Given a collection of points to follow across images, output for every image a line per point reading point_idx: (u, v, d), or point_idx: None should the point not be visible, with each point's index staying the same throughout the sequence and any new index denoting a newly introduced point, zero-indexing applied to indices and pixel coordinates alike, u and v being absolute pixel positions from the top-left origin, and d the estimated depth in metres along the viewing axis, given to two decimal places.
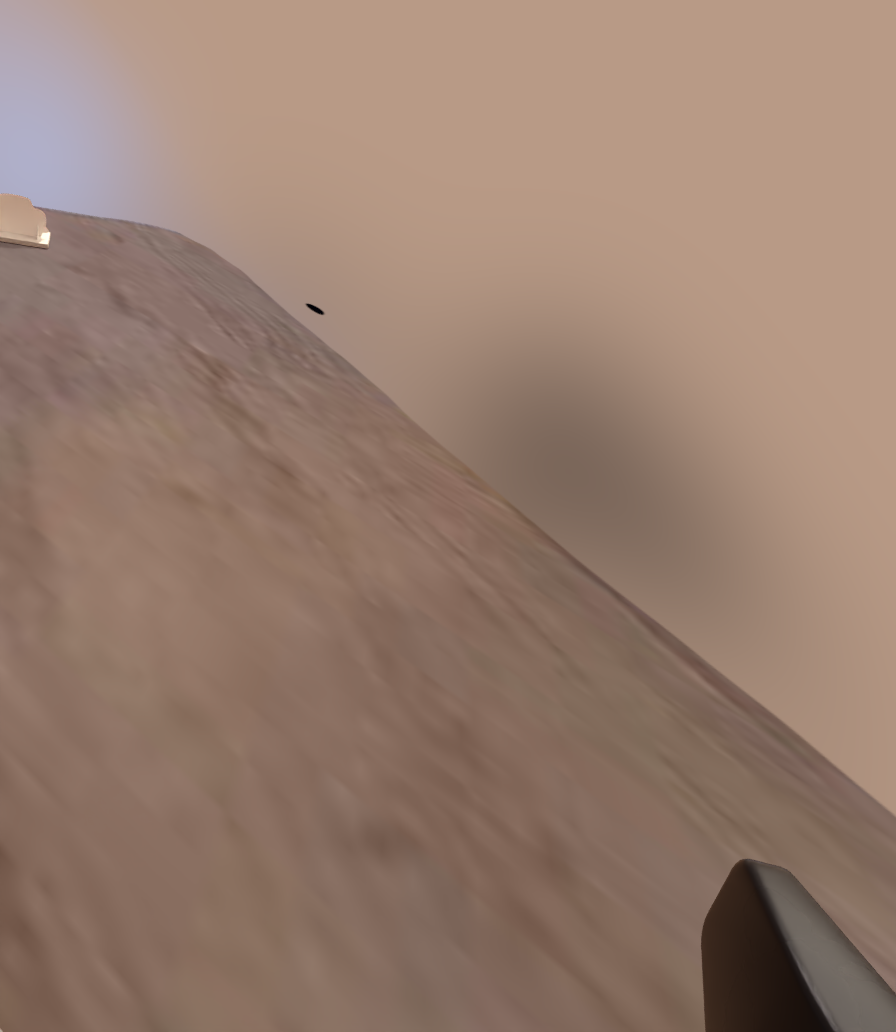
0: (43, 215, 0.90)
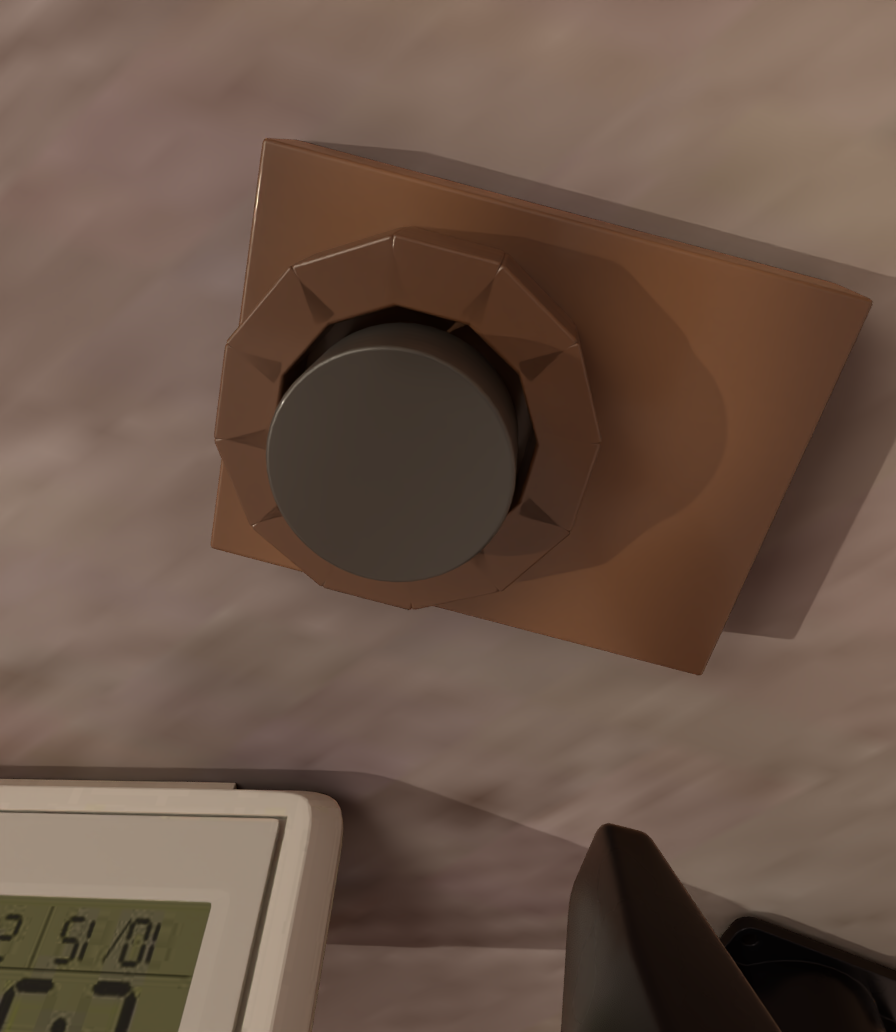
0: None
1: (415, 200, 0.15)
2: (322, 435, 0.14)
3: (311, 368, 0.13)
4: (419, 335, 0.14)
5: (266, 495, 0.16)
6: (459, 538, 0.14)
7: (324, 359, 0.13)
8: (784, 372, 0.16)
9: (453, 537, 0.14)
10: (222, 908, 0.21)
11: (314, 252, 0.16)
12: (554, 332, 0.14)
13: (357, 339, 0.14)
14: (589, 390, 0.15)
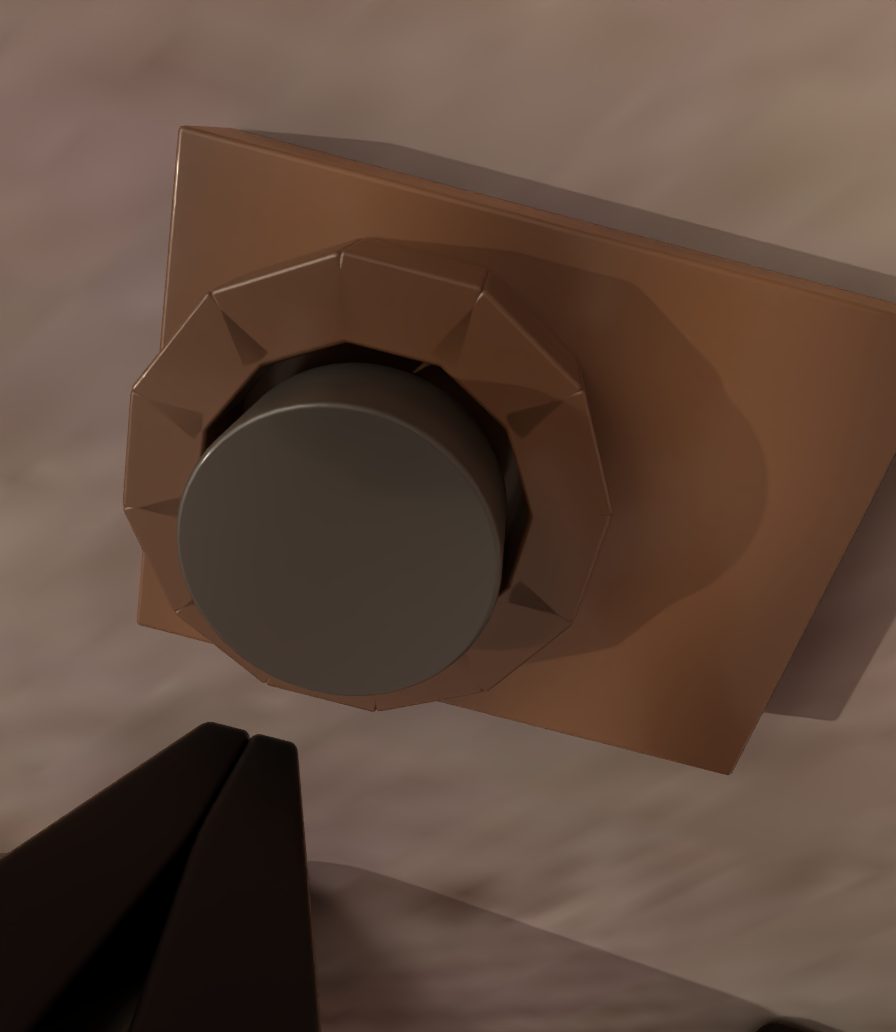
0: None
1: (374, 204, 0.12)
2: (249, 516, 0.11)
3: (229, 430, 0.10)
4: (375, 383, 0.11)
5: None
6: (430, 644, 0.11)
7: (246, 418, 0.10)
8: (842, 420, 0.13)
9: (422, 643, 0.11)
10: None
11: (248, 270, 0.13)
12: (552, 376, 0.11)
13: (294, 389, 0.11)
14: (597, 449, 0.12)
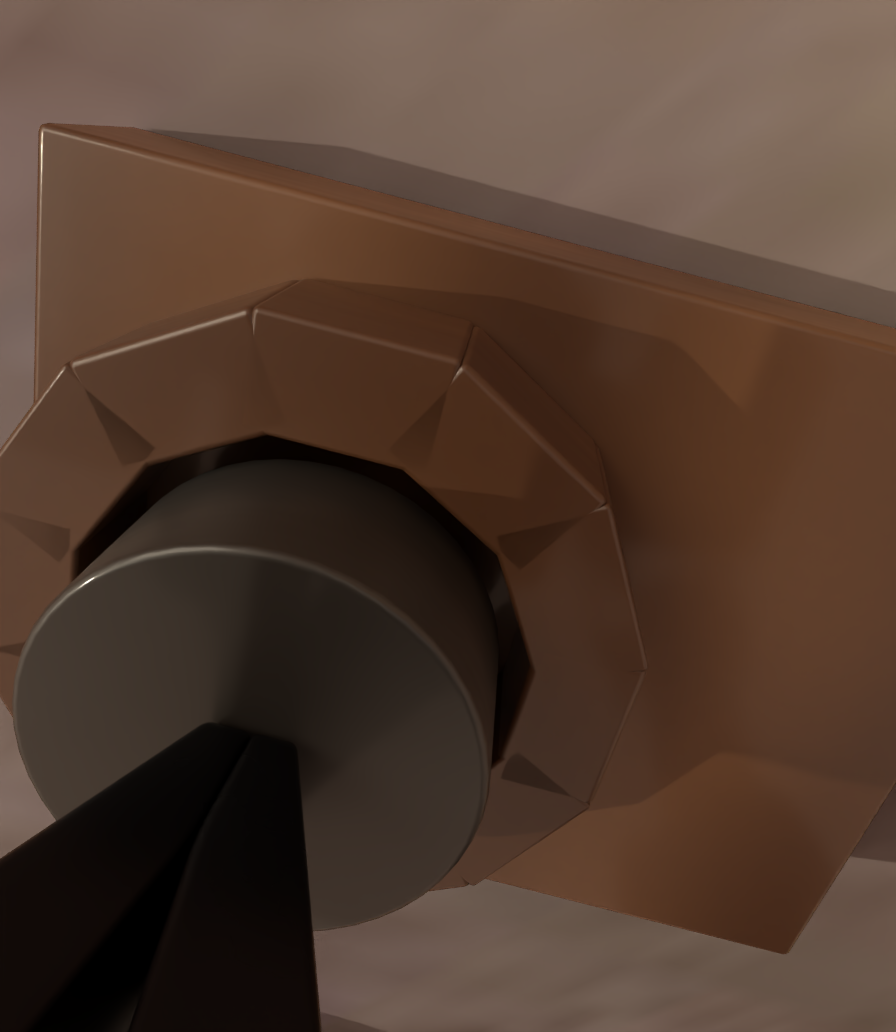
0: None
1: (315, 233, 0.09)
2: (114, 700, 0.07)
3: (77, 583, 0.07)
4: (304, 500, 0.07)
5: None
6: (386, 872, 0.08)
7: (102, 565, 0.07)
8: None
9: (374, 871, 0.08)
10: None
11: (145, 322, 0.09)
12: (563, 486, 0.08)
13: (184, 509, 0.07)
14: (627, 585, 0.08)
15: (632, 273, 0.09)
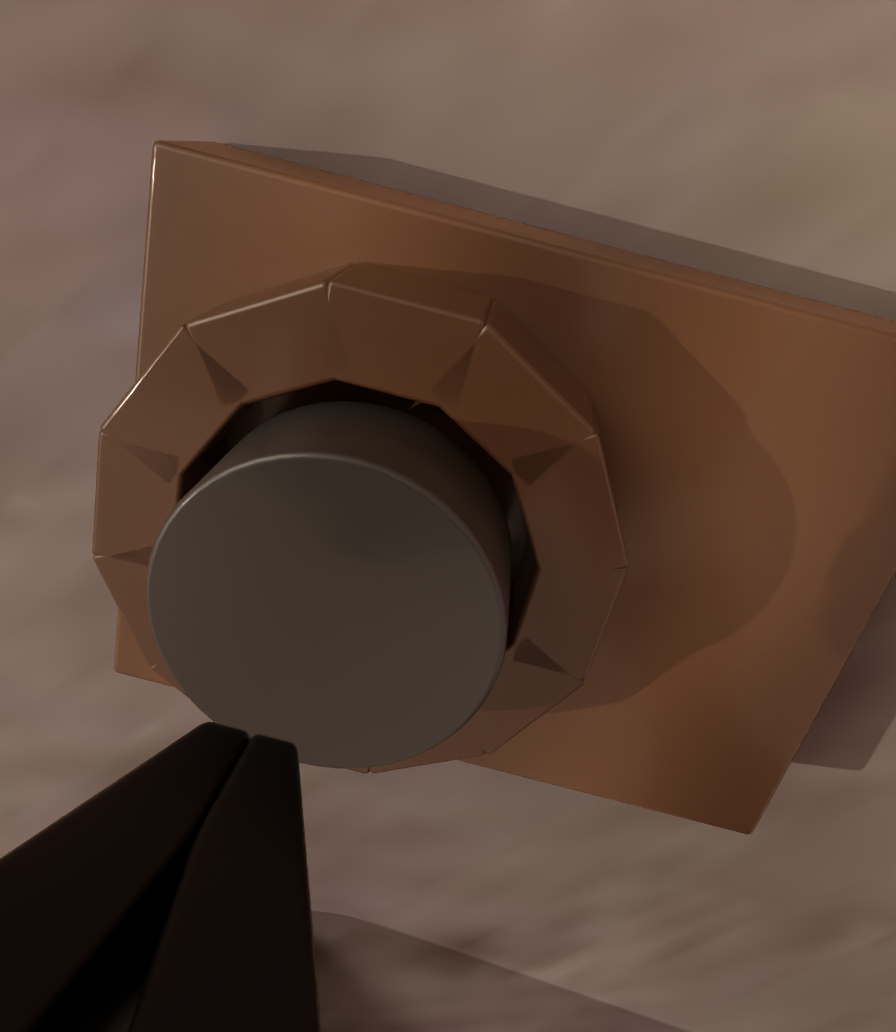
0: None
1: (368, 226, 0.11)
2: (224, 575, 0.09)
3: (203, 483, 0.09)
4: (366, 427, 0.10)
5: None
6: (427, 714, 0.10)
7: (222, 469, 0.09)
8: (877, 461, 0.12)
9: (418, 713, 0.10)
10: None
11: (230, 297, 0.12)
12: (562, 418, 0.10)
13: (276, 433, 0.10)
14: (612, 498, 0.10)
15: (617, 258, 0.11)
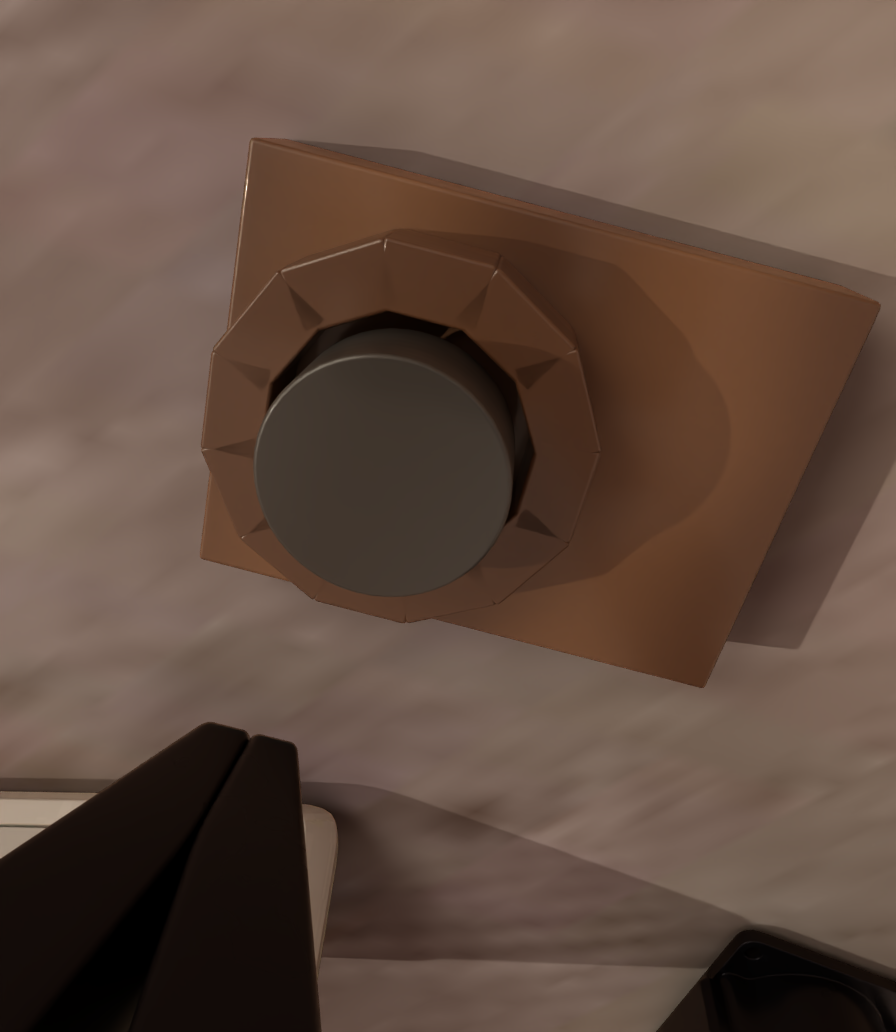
0: None
1: (408, 201, 0.15)
2: (312, 446, 0.13)
3: (299, 377, 0.13)
4: (412, 342, 0.14)
5: (255, 506, 0.16)
6: (454, 552, 0.14)
7: (313, 367, 0.13)
8: (789, 378, 0.16)
9: (448, 551, 0.14)
10: None
11: (304, 255, 0.15)
12: (552, 338, 0.14)
13: (347, 346, 0.13)
14: (588, 398, 0.14)
15: (593, 225, 0.15)
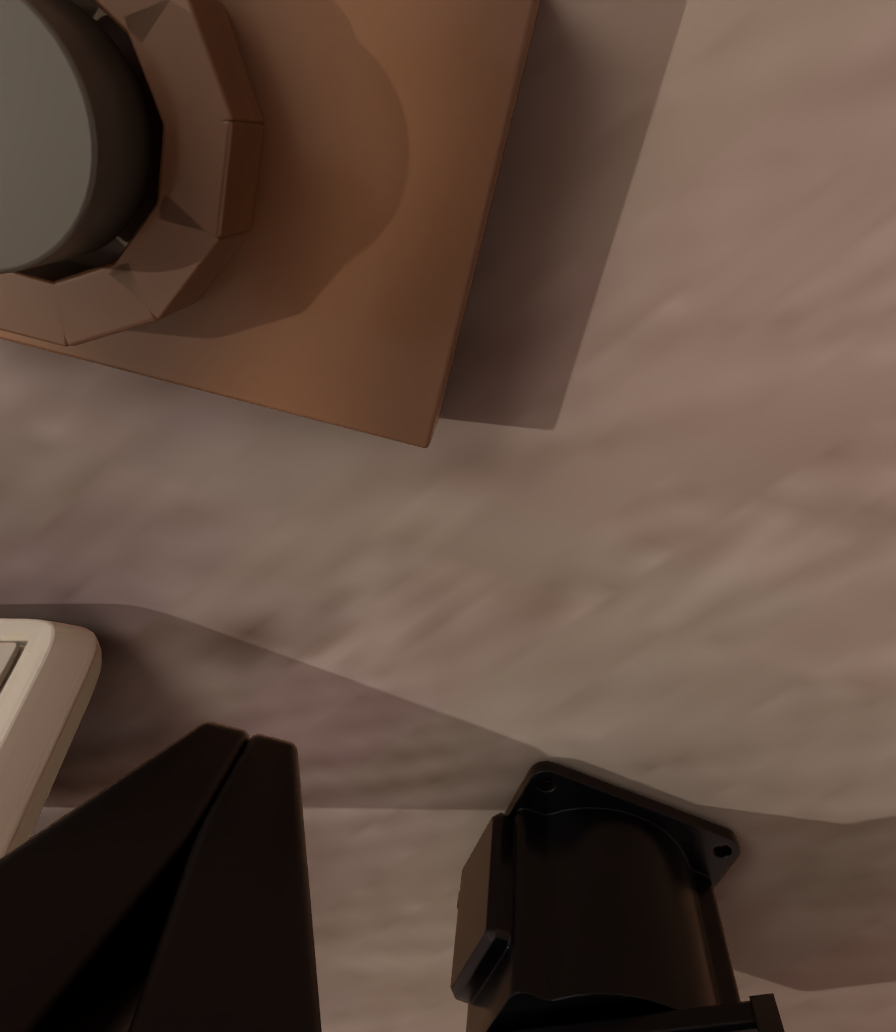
0: None
1: None
2: None
3: None
4: None
5: None
6: (49, 209, 0.13)
7: None
8: (459, 60, 0.14)
9: (42, 209, 0.13)
10: None
11: None
12: None
13: None
14: (207, 51, 0.13)
15: None
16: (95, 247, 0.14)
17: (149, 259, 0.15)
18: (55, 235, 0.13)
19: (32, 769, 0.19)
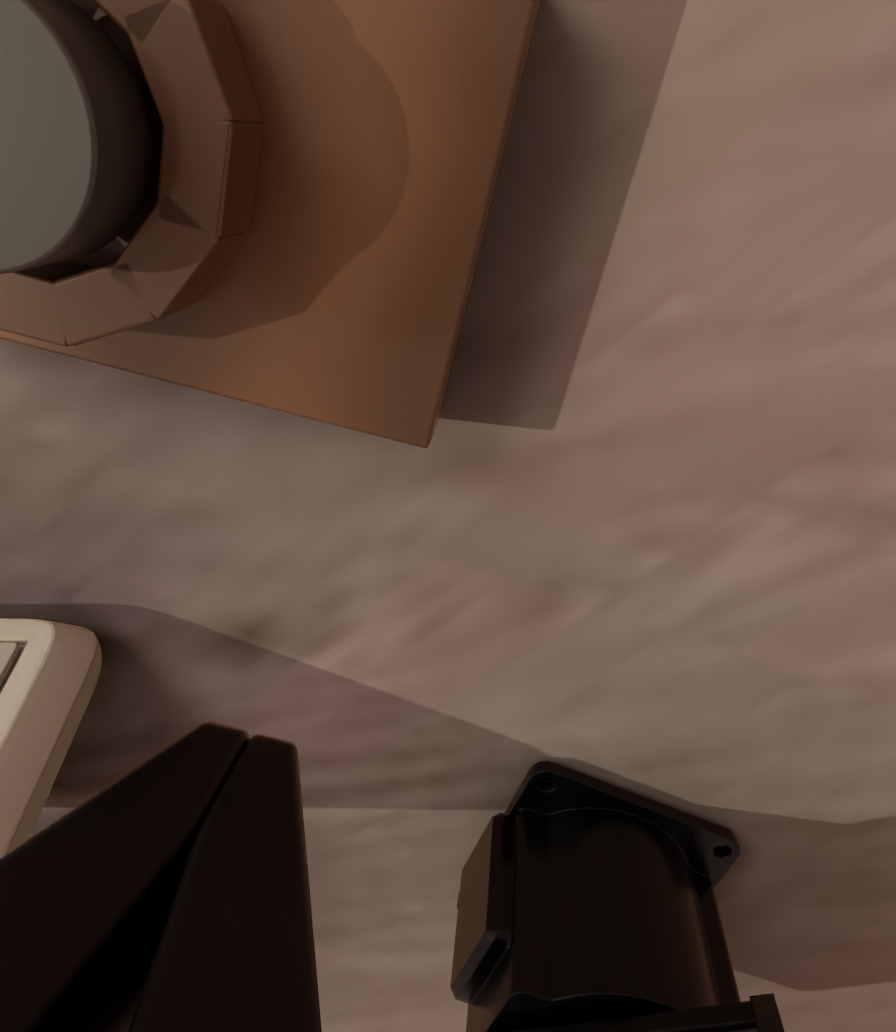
0: None
1: None
2: None
3: None
4: None
5: None
6: (49, 209, 0.13)
7: None
8: (459, 60, 0.14)
9: (42, 209, 0.13)
10: None
11: None
12: None
13: None
14: (207, 51, 0.13)
15: None
16: (95, 247, 0.14)
17: (149, 259, 0.15)
18: (55, 235, 0.13)
19: (32, 769, 0.19)
